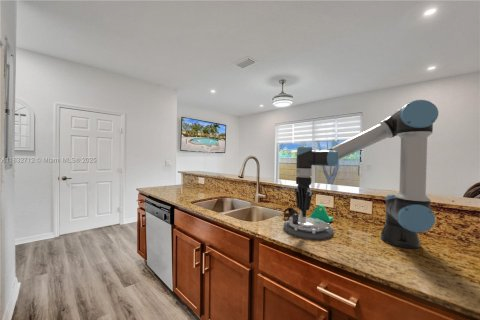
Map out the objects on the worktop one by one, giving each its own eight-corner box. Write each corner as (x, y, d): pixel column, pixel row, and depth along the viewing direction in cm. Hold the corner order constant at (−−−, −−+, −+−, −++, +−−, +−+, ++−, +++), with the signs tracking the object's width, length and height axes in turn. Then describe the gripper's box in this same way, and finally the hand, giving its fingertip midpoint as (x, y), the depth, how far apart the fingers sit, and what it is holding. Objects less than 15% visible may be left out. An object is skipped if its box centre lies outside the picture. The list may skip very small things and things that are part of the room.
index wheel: (311, 218, 127) (311, 207, 127) (338, 230, 106) (338, 217, 106) (280, 221, 120) (280, 209, 120) (303, 235, 99) (303, 220, 99)
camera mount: (333, 221, 132) (333, 205, 132) (329, 223, 126) (329, 207, 126) (314, 217, 140) (314, 202, 140) (310, 219, 134) (310, 204, 134)
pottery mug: (301, 221, 131) (296, 210, 129) (288, 226, 133) (282, 216, 131) (297, 211, 143) (293, 202, 141) (285, 216, 144) (280, 207, 143)
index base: (344, 236, 105) (344, 230, 105) (302, 242, 97) (302, 235, 97) (311, 221, 130) (311, 216, 130) (275, 224, 121) (275, 219, 121)
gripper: (290, 175, 109) (289, 219, 110) (304, 177, 97) (303, 227, 97) (302, 175, 112) (301, 218, 112) (318, 177, 99) (316, 226, 99)
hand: (302, 222), depth 104 cm, fingers closed
